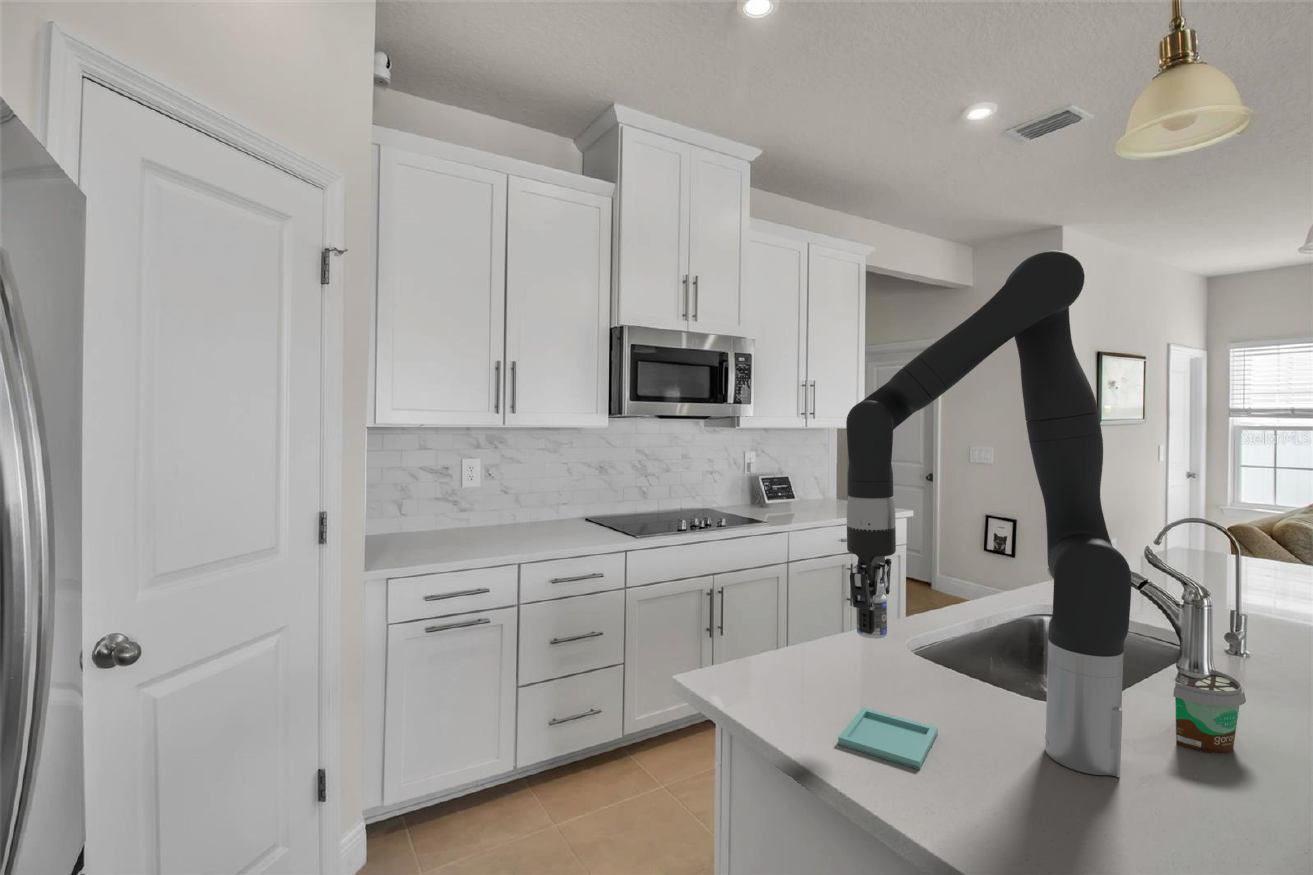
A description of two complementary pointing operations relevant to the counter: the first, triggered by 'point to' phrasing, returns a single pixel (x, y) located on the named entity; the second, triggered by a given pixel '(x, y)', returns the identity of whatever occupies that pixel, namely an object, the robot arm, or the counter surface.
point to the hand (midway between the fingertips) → (872, 627)
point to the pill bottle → (877, 616)
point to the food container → (1208, 713)
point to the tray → (889, 737)
